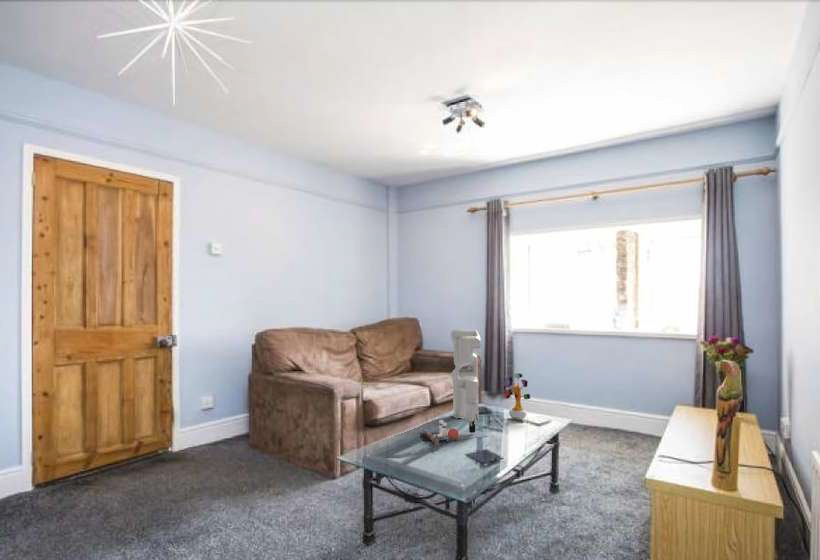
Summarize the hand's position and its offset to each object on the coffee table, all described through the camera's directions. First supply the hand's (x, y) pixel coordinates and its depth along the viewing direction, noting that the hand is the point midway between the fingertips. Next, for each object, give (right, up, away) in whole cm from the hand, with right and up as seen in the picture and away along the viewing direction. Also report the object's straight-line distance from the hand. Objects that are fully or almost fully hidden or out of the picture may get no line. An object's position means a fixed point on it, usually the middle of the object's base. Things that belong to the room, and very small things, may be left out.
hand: (472, 432), depth 255 cm
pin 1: (-18, -2, -3) cm, 19 cm away
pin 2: (-17, -1, -8) cm, 19 cm away
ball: (-12, +2, -8) cm, 14 cm away
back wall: (-24, -1, -7) cm, 26 cm away
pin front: (-15, 0, -4) cm, 15 cm away
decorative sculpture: (+33, -3, +31) cm, 46 cm away
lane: (-8, -2, -2) cm, 8 cm away
